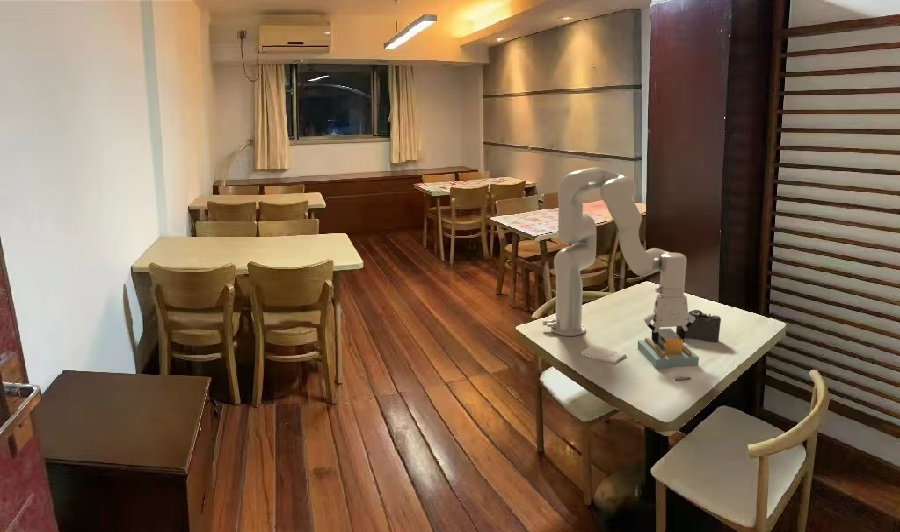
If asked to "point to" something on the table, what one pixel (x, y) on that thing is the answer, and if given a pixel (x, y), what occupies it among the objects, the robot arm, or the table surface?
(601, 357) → the external hard drive
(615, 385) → the table surface
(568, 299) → the robot arm
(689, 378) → the grey metal rounded bar
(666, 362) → the stand
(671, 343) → the block
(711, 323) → the camera
